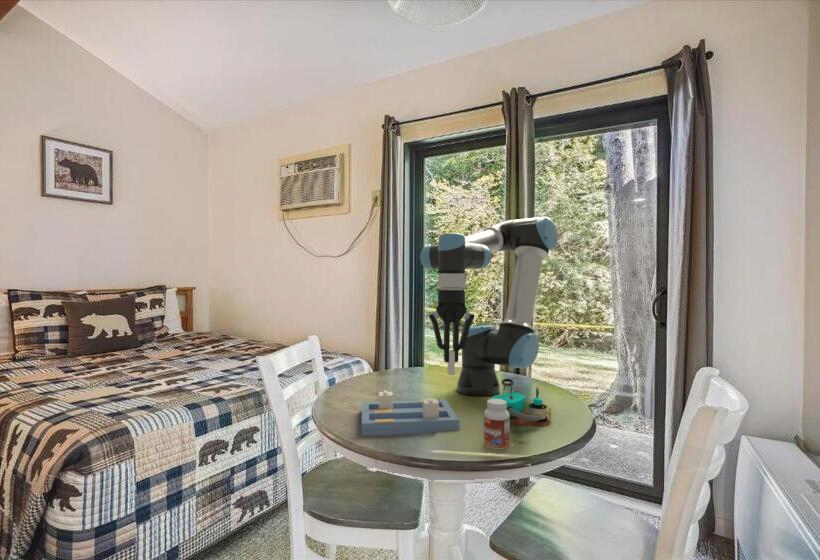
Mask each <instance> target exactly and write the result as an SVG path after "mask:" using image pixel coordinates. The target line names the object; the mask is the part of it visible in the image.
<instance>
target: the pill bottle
mask: <svg viewBox="0 0 820 560" xmlns="http://www.w3.org/2000/svg"><path fill="white" fill-rule="evenodd" d="M486 407H487V408H486V409H485V411H484V413H483V445H484V446H486V447H487V448H490V449H496V450H502V449H508V448H509V447H510V438H511V437H510V433H511V432H510V427H511V426H510V425H511V424H510V414H509V412H508V411H507V410H506V408H507V402H506V401H505V400H502V399H491V398H489V399H487V401H486Z"/></svg>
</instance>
